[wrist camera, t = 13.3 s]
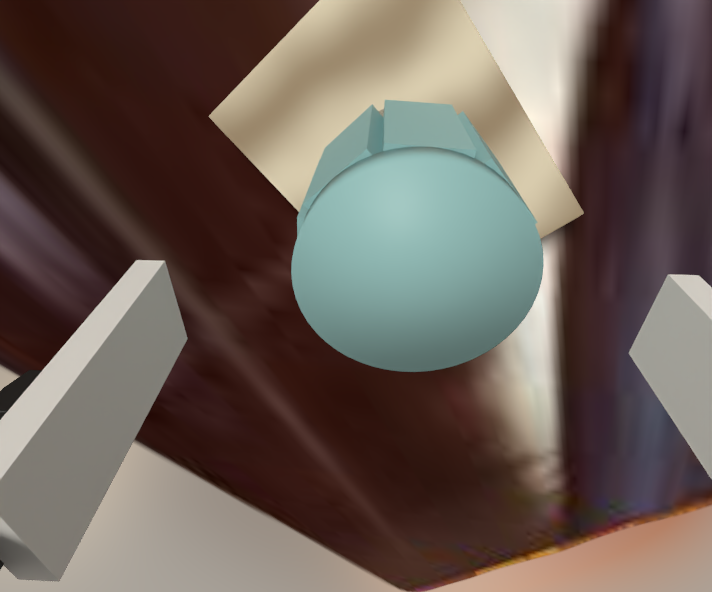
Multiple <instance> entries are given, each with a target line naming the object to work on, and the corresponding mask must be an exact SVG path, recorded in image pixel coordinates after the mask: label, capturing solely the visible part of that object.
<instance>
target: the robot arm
mask: <svg viewBox="0 0 712 592" xmlns="http://www.w3.org/2000/svg"><path fill="white" fill-rule="evenodd" d="M187 339H188V338H187V335H186V331H185V328H184V324H183V321H182V318H181V314H180V311H179V307H178V304H177V301H176V297H175V294H174V290H173V287H172V283H171V280H170V277H169V273H168V270H167V266H166V263H165V261H154V260H136V261H135V263H134V264H133V265H132V266H131V267H130V268H129V270H128V271H127V272H126V273H125V274H124V275H123V277H122V278H121V279H120V280H119V281H118V282H117V284H116V285H115V286H114V287H113V288H112V290H111V291H110V292H109V293H108V294H107V295H106V297H105V298H104V299H103V300H102V301H101V302H100V304H99V305H98V306H97V307H96V308H95V309H94V311H93V312H92V313H91V314H90V315H89V316H88V318H87V319H86V320H85V321H84V322H83V324H82V325H81V326H80V327H79V328H78V329H77V331H76V332H75V333H74V334H73V335H72V336H71V338H70V339H69V340H68V341H67V342H66V343H65V345H64V346H63V347H62V348H61V349H60V350H59V352H58V353H57V354H56V355H55V356H54V358H53V359H52V360H51V361H50V362H49V363H48V365H47V366H46V367H45V368H44V369H43V370H42V371H37V370H29V371H27V372H26V373H25V374H23V375H22V376H20V377H19V378H17V379H16V380H14V381H13V382H11V383H10V384H9V385H7V386H6V387H4V388H3V389H2V390H1V391H0V569H1V567H2V566H3V565H4V566H5V567H6V568H7V569H8V570H9V571H10V572H11V573H12V574H13V575H14V576H15V577H16V578H17V579H23V580H41V581H60V579H61V577H62V575H63V573H64V571H65V570H66V568H67V566H68V564H69V562H70V560H71V558H72V556H73V554H74V552H75V551H76V549H77V546H78V545H79V543H80V541H81V539H82V537H83V535H84V534H85V532H86V530H87V528H88V526H89V524H90V522H91V520H92V518H93V517H94V515H95V513H96V511H97V509H98V507H99V505H100V503H101V501H102V499H103V498H104V496H105V494H106V492H107V490H108V488H109V486H110V484H111V483H112V481H113V479H114V477H115V475H116V473H117V471H118V469H119V467H120V465H121V464H122V462H123V460H124V458H125V456H126V454H127V452H128V450H129V448H130V447H131V445H132V443H133V441H134V439H135V437H136V435H137V433H138V431H139V430H140V428H141V426H142V424H143V422H144V420H145V418H146V416H147V414H148V413H149V411H150V409H151V407H152V405H153V403H154V401H155V399H156V397H157V396H158V394H159V392H160V390H161V388H162V386H163V384H164V382H165V380H166V379H167V377H168V375H169V373H170V371H171V369H172V367H173V365H174V363H175V361H176V360H177V358H178V356H179V354H180V352H181V350H182V348H183V346H184V344H185V343H186V341H187ZM629 355H630V356H631V358H632V359H633V361H634V362H635V364H636V365H637V367H638V368H639V370H640V371H641V373H642V374H643V376H644V377H645V379H646V380H647V382H648V383H649V385H650V386H651V388H652V389H653V391H654V393H655V394H656V396H657V397H658V399H659V400H660V402H661V403H662V405H663V406H664V408H665V409H666V411H667V412H668V414H669V415H670V417H671V418H672V420H673V421H674V423H675V424H676V426H677V427H678V429H679V431H680V432H681V434H682V435H683V437H684V438H685V440H686V441H687V443H688V444H689V446H690V447H691V449H692V450H693V452H694V453H695V455H696V456H697V458H698V459H699V461H700V462H701V464H702V465H703V467H704V469H705V470H706V472H707V473H708V475H709V476H710V478H711V479H712V288H711V287H710V286H709V285H708V284H707V283H706V282H705V281H704V280H703V279H702V278H701V277H700V276H699V275H668V276H667V278H666V280H665V282H664V284H663V286H662V288H661V290H660V292H659V294H658V296H657V298H656V300H655V302H654V304H653V306H652V307H651V309H650V311H649V313H648V315H647V317H646V319H645V321H644V323H643V325H642V327H641V329H640V331H639V333H638V335H637V337H636V339H635V341H634V343H633V345H632V347H631V349H630V351H629Z"/></svg>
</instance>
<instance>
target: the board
mask: <svg viewBox="0 0 712 592" xmlns="http://www.w3.org/2000/svg"><path fill="white" fill-rule="evenodd" d="M385 100H397V101H410V102H424V103H437V104H450V105H452V106H453V108H454V110H455V111H456V113H457V115H458V114H460V113H461V112H462V111H463V112H464V113H465V115H466V116H467V117H468V119H469V120H470V122H471V123H472V124H473V126H474V127H475V129H476V130H477V131H478V133H479V134H480V136H481V137H482V138H483V140H484V141H485V143H486V144H487V145H488V147H489V148H490V150H491V151H492V153H493V154H494V155H495V157H496V158H497V160H498V161H499V163H500V164H501V166H502V167H503V169H504V170H505V172H506V174H507V175H508V177H509V178H510V180H511V181H512V183H513V185H514V186H515V188H516V189H517V191H518V192H519V194H520V196H521V197H522V199H523V200H524V202H525V203H526V205H527V207H528V208H529V210H530V211H531V213H532V214H533V216H534V218H535V219H536V221H537V222H538V223H536V224H535V225H536V228H537V230H538V233H539V235H540V239H541V238H543V237H545V236H546V235H548V234H550V233H551V232H553V231H555V230H557V229H558V228H560V227H562V226H563V225H565V224H567V223H569V222H570V221H572V220H574V219H575V218H577V217H579V216H580V215H582V214H584V212H583V211H582V209H581V207H580V206H579V204H578V202H577V200H576V199H575V197H574V195H573V194H572V192H571V190H570V188H569V187H568V185H567V183H566V182H565V180H564V178H563V176H562V175H561V173H560V171H559V170H558V168H557V166H556V164H555V163H554V161H553V159H552V158H551V156H550V154H549V152H548V151H547V149H546V147H545V146H544V144H543V142H542V140H541V139H540V137H539V135H538V134H537V132H536V130H535V128H534V127H533V125H532V123H531V122H530V120H529V118H528V116H527V115H526V113H525V111H524V110H523V108H522V106H521V104H520V103H519V101H518V99H517V98H516V96H515V94H514V92H513V91H512V89H511V87H510V86H509V84H508V82H507V80H506V79H505V77H504V75H503V74H502V72H501V70H500V68H499V67H498V65H497V63H496V62H495V60H494V58H493V56H492V55H491V53H490V51H489V50H488V48H487V46H486V44H485V43H484V41H483V39H482V38H481V36H480V34H479V32H478V31H477V29H476V27H475V26H474V24H473V22H472V20H471V19H470V17H469V15H468V14H467V12H466V10H465V8H464V7H463V5H462V3H461V2H460V0H319V2H318V3H317V4H316V5H315V6H314V7H313V8H312V9H311V10H310V11H309V12H308V13H307V14H306V15H305V16H304V17H303V18H302V19H301V20H300V21H299V22H298V23H297V24H296V26H295V27H294V28H293V29H292V30H291V31H290V32H289V33H288V34H287V35H286V36H285V37H284V38H283V39H282V40H281V41H280V42H279V43H278V44H277V45H276V46H275V47H274V48H273V50H272V51H271V52H270V53H269V54H268V55H267V56H266V57H265V58H264V59H263V60H262V61H261V62H260V63H259V64H258V65H257V66H256V67H255V68H254V69H253V70H252V71H251V73H250V74H249V75H248V76H247V77H246V78H245V79H244V80H243V81H242V82H241V83H240V84H239V85H238V86H237V87H236V88H235V89H234V90H233V91H232V92H231V93H230V94H229V95H228V97H227V98H226V99H225V100H224V101H223V102H222V103H221V104H220V105H219V106H218V107H217V108H216V109H215V110H214V111H213V112H212V113H211V114H210V115H209V116H208V117H209V118H210V119H211V120H212V121H213V122H214V123H215V124H216V125H217V126H218V127H219V128H220V129H221V130H222V131H223V132H224V133H225V134H226V136H227V137H228V138H229V139H230V140H231V141H232V142H233V143H234V144H235V145H236V146H237V147H238V148H239V149H240V150H241V151H242V152H243V153H244V155H245V156H246V157H247V158H248V159H249V160H250V161H251V162H252V163H253V164H254V165H255V166H256V167H257V168H258V169H259V170H260V171H261V172H262V174H263V175H264V176H265V177H266V178H267V179H268V180H269V181H270V182H271V183H272V184H273V185H274V186H275V187H276V188H277V189H278V190H279V191H280V193H281V194H282V195H283V196H284V197H285V198H286V199H287V200H288V201H289V202H290V203H291V204H292V205H293V206H294V207H295V208H296V209H297V210H298V212H299V211H300V209H301V206H302V204H303V201H304V199H305V196H306V193H307V191H308V188H309V186H310V183H311V181H312V178H313V175H314V173H315V170H316V168H317V165H318V163H319V160H320V159H321V156H322V154H323V151H324V149H325V147H326V146H327V145H328V144H330V143H331V142H332V141H333V140H334V139H335V138H336V137H337V136H338V135H339V134H340V133H341V132H343V131H344V130H345V129H346V128H347V127H348V126H349V125H350V124H351V123H352V122H353V121H355V120H356V119H357V118H358V117H359V116H360V115H361V114H362V113H363V112H364V111H365V110H366V109H368V108H369V107H370V106H371V105H372V104H373V105H374V107H375V108H376V109H377V110H378V111H380V110H382V109H384V103H385Z"/></svg>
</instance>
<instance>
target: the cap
mask: <svg viewBox="0 0 712 592" xmlns="http://www.w3.org/2000/svg"><path fill="white" fill-rule="evenodd" d="M536 223H538V222H537V221H536V219H535V218H534V216H533V214H532V213H531V211H530V210H529V208H528V207H527V205H526V203H525V202H524V200H523V199H522V197H521V196H520V194H519V192H518V191H517V189H516V188H515V186H514V185H513V183H512V181H511V180H510V178H509V177H508V175H507V174H506V172H505V170H504V169H503V167H502V166H501V164H500V163H499V161H498V160H497V158H496V157H495V155H494V154H493V153H492V151H491V150H490V148H489V147H488V145H487V144H486V143H485V141H484V140H483V138H482V137H481V136H480V134H479V133H478V131H477V130H476V129H475V127H474V126H473V124H472V123H471V122H470V120H469V119H468V117H467V116H466V115H465V113H464V112H463V111H462V112H461V113H460V114H458V115H457V113H456V111H455V110H454V108H453V106H452V105H450V104H437V103H424V102H410V101H397V100H385V103H384V114H383V117H382V115H381V114H380V113H379V112H378V110H377V109H376V108H375V107H374V105H373V104H372V105H371V106H370V107H369V108H368V109H366V110H365V111H364V112H363V113H362V114H361V115H360V116H359V117H358V118H357V119H356V120H355V121H353V122H352V123H351V124H350V125H349V126H348V127H347V128H346V129H345V130H344V131H343V132H341V133H340V134H339V135H338V136H337V137H336V138H335V139H334V140H333V141H332V142H331V143H330V144H328V145H327V146H326V147H325V149H324V151H323V154H322V156H321V159H320V160H319V163H318V165H317V168H316V170H315V173H314V175H313V178H312V181H311V183H310V186H309V188H308V191H307V193H306V196H305V199H304V201H303V204H302V206H301V209H300V211H299V214H298V217H297V241H296V243H295V247H294V252H293V257H292V270H291V274H292V284H293V289H294V293H295V297H296V300H297V302H298V305H299V307H300V309H301V312H302V313H303V315H304V317H305V318H306V320H307V321H308V323H309V324H310V325H311V327H312V328H313V329H314V330H315V332H316V333H317V334H318V335H319V336H320V337H321V338H322V339H323V340H324V341H325V342H327V343H328V344H329V345H331V346H332V347H333V348H335V349H336V350H338V351H339V352H341V353H343V354H344V355H346V356H348V357H350V358H352V359H354V360H356V361H359V362H361V363H364V364H367V365H370V366H373V367H377V368H382V369H386V370H393V371H403V372H421V371H432V370H438V369H444V368H448V367H452V366H456V365H458V364H461V363H464V362H467V361H470V360H472V359H474V358H476V357H478V356H480V355H482V354H484V353H486V352H487V351H489V350H490V349H492V348H494V347H495V346H497V345H498V344H499V343H500V342H502V341H503V340H504V339H506V338H507V337H508V336H509V335H510V334H511V333H512V332H513V331H514V330H515V329H516V328H517V327H518V325H519V324H520V323H521V322H522V321H523V319H524V318H525V317H526V315H527V313H528V312H529V310H530V308H531V307H532V305H533V303H534V301H535V298H536V296H537V294H538V291H539V287H540V284H541V280H542V273H543V249H542V244H541V240H540V235H539V233H538V230H537V228H536V225H535V224H536Z"/></svg>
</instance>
